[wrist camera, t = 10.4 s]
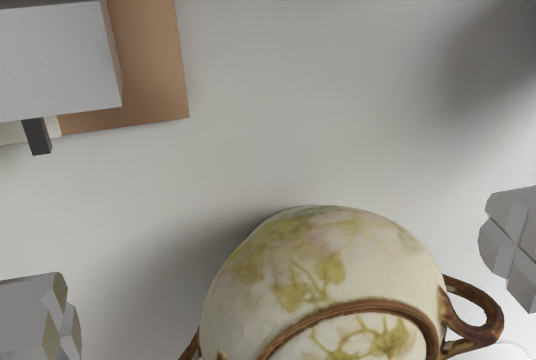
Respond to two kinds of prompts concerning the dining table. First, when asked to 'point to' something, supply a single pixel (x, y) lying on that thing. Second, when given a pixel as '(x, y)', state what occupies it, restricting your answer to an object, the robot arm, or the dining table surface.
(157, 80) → the bench
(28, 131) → the gauge plunger
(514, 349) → the robot arm
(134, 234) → the dining table surface
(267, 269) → the sugar bowl
